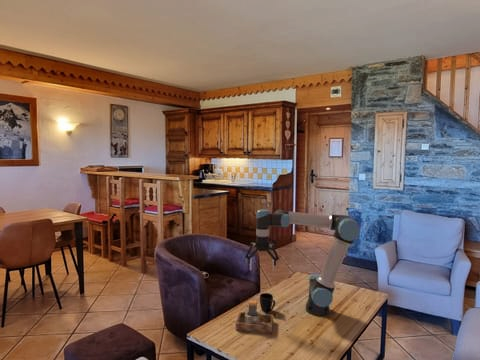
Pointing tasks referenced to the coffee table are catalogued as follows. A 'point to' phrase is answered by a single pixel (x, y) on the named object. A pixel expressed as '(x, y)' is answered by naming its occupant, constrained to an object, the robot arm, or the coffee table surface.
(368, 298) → the coffee table surface
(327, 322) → the coffee table surface
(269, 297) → the mug
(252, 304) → the connector
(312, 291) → the robot arm
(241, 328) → the box
